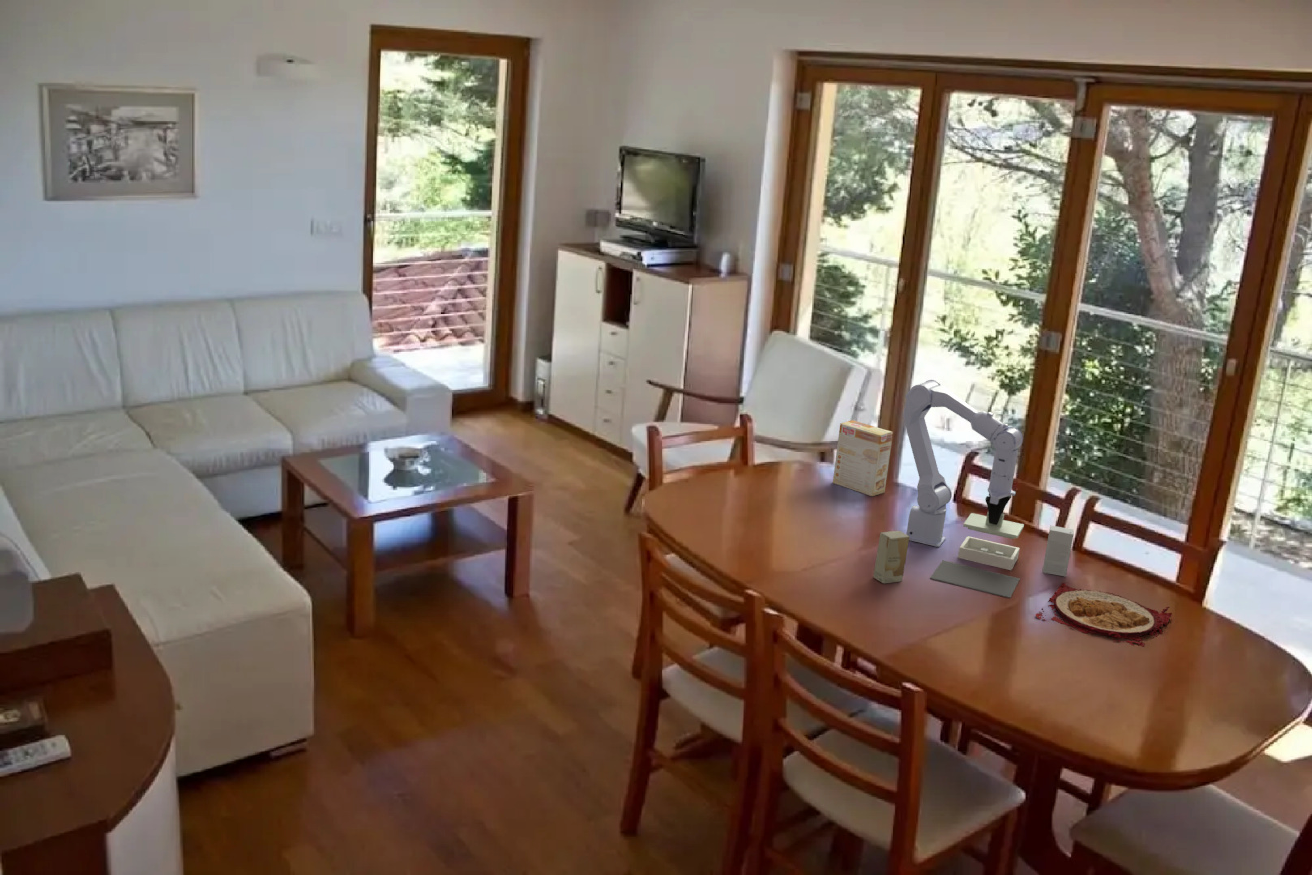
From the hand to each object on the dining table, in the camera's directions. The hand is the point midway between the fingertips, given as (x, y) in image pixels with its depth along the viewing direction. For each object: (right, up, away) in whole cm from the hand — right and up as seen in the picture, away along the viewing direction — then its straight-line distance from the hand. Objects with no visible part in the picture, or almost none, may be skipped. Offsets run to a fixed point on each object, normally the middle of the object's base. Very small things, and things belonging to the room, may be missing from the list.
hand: (994, 522), depth 320 cm
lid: (0, -1, 0) cm, 1 cm away
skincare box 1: (-31, -13, -17) cm, 38 cm away
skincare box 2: (+15, -13, -3) cm, 20 cm away
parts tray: (-1, -10, +3) cm, 10 cm away
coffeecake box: (-27, +7, +51) cm, 58 cm away
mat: (-8, -14, -12) cm, 20 cm away
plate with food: (+18, -22, -28) cm, 40 cm away
